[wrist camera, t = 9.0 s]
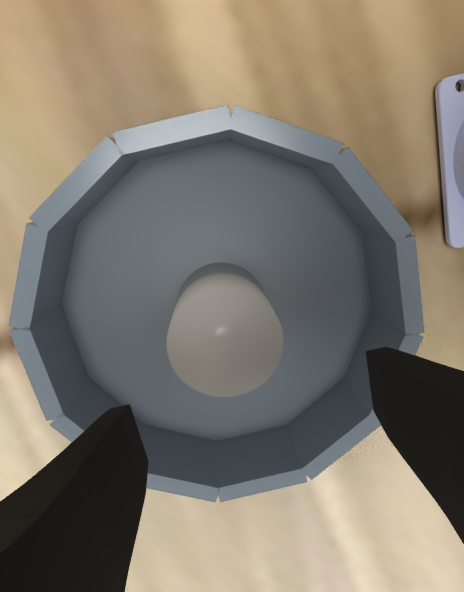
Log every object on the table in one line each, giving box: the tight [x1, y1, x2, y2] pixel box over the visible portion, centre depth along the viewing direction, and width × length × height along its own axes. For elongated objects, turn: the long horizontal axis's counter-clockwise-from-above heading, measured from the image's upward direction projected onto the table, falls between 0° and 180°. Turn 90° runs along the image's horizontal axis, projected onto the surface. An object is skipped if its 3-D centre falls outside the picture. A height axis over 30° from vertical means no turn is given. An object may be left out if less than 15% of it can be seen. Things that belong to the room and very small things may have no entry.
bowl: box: [9, 105, 424, 502], centre depth 18 cm, size 17×17×4 cm
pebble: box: [166, 262, 284, 397], centre depth 17 cm, size 4×4×5 cm
